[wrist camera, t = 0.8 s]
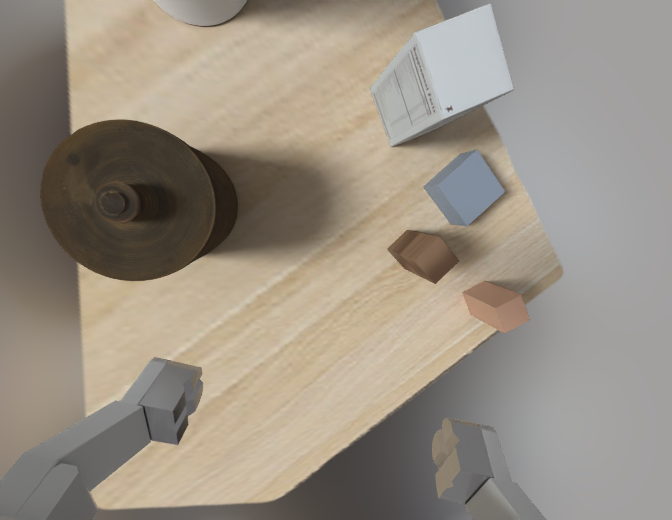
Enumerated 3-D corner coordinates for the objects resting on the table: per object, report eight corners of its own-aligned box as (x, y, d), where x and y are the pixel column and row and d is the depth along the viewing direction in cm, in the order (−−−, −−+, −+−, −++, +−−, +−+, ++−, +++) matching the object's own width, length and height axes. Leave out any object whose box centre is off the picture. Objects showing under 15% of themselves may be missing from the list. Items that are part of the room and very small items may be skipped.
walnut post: (387, 249, 55) (415, 260, 44) (407, 230, 55) (439, 236, 44) (404, 268, 56) (435, 283, 45) (423, 249, 56) (459, 260, 45)
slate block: (422, 186, 54) (437, 185, 49) (458, 154, 54) (477, 149, 50) (450, 224, 56) (467, 226, 51) (485, 192, 56) (505, 191, 52)
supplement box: (442, 126, 53) (517, 92, 37) (390, 148, 52) (444, 123, 36) (422, 64, 51) (493, -2, 35) (367, 86, 50) (414, 29, 34)
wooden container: (117, 153, 45) (-21, 108, 24) (230, 147, 48) (197, 101, 26) (137, 260, 48) (30, 306, 27) (244, 249, 50) (224, 283, 29)
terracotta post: (462, 292, 58) (495, 308, 50) (484, 281, 59) (521, 294, 50) (470, 314, 60) (504, 333, 51) (492, 303, 60) (529, 319, 51)
